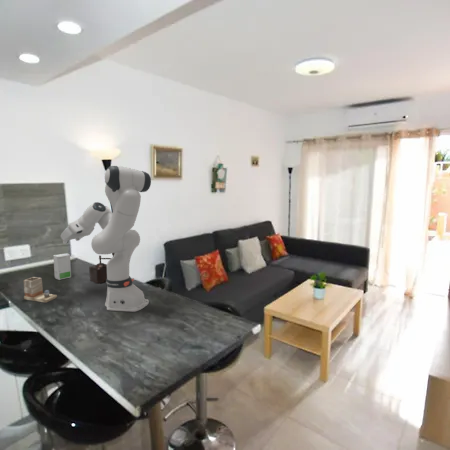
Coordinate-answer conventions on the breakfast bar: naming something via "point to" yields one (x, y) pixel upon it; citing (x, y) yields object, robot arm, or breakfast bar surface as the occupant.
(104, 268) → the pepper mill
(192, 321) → the breakfast bar surface
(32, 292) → the sleeve
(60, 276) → the skincare box
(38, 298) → the pin board
